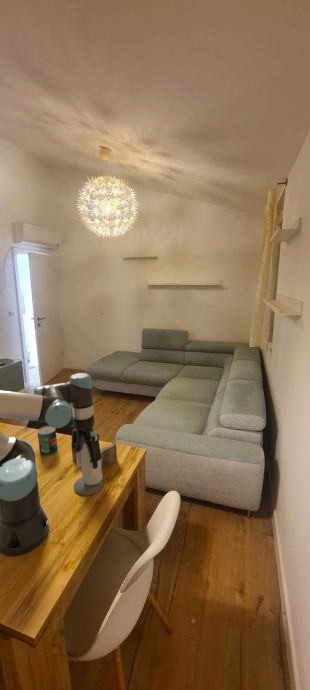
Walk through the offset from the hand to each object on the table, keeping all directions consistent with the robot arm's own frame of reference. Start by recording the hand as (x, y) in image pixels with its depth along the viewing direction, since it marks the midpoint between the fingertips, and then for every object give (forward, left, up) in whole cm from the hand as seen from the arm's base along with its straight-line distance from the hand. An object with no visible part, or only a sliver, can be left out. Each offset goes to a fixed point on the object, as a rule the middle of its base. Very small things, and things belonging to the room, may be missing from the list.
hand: (87, 470), depth 113 cm
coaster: (0, 0, -7) cm, 7 cm away
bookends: (+12, +11, -7) cm, 18 cm away
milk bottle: (+2, 0, -5) cm, 6 cm away
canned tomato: (+3, +33, -7) cm, 34 cm away
